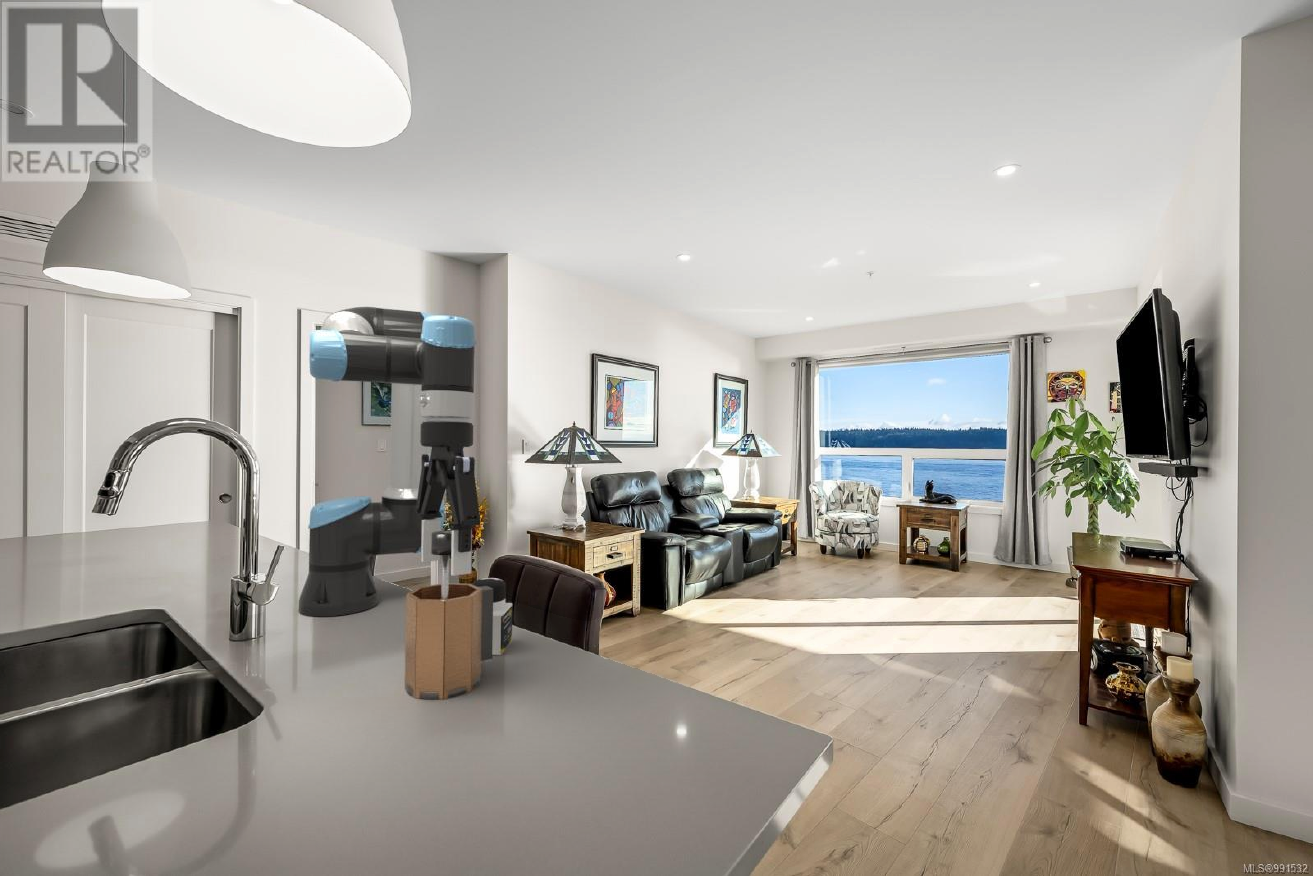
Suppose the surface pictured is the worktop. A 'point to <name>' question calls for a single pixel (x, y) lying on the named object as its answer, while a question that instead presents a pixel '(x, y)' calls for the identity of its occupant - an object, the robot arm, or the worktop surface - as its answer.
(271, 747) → the worktop surface
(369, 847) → the worktop surface
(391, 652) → the worktop surface
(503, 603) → the medicine bottle
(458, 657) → the press carafe
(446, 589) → the plunger
